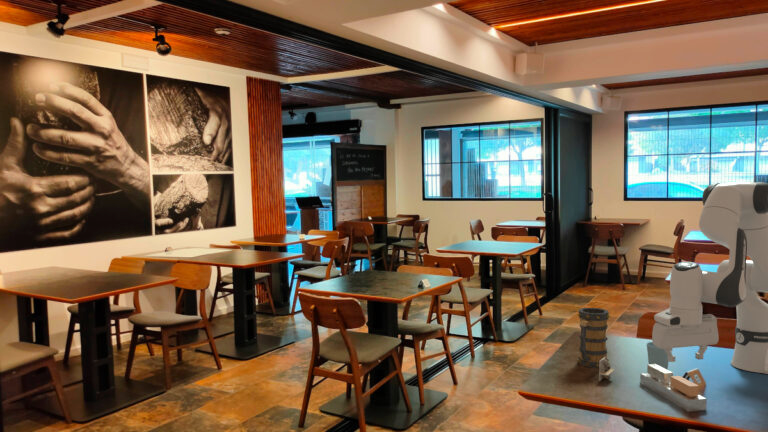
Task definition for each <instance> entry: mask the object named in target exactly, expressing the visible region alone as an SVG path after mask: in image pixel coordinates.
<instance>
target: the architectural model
mask: <svg viewBox="0 0 768 432" xmlns="http://www.w3.org/2000/svg"><path fill="white" fill-rule="evenodd" d="M608 363H609V361H607V360H605V357H604V358H603V359H602V360H600V361H599V369H598V372H599V373H598V375H599V377H598V381H599V382H601V381H602V380H603V379H605V380H608V379H609V378H611V374H612V373H614V372H615V369H613V368H611V364H610V363H609V364H608Z"/></svg>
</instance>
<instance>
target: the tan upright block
mask: <svg viewBox="0 0 768 432" xmlns="http://www.w3.org/2000/svg"><path fill="white" fill-rule="evenodd" d="M670 386H672V387H674V390H675V391H681V392H683V393H685V394H686V397H688V398H695V396H699V395H700V385H698V384H696V383H694V382H692V381H690V380H688V379H686V378H684V377H683V376H680V375H673V376H671V382H670Z"/></svg>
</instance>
